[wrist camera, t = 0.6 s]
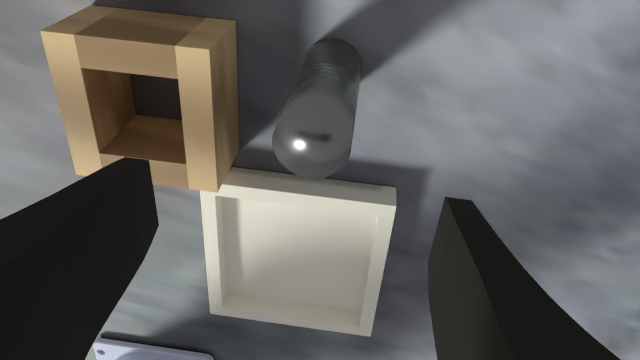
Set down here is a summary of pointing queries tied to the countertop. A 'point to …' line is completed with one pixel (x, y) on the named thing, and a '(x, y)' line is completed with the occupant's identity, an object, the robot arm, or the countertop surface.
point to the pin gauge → (320, 111)
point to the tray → (297, 249)
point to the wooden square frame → (118, 101)
